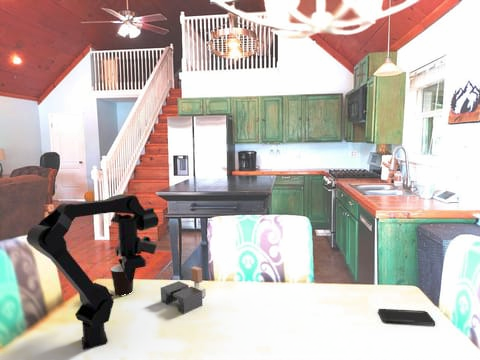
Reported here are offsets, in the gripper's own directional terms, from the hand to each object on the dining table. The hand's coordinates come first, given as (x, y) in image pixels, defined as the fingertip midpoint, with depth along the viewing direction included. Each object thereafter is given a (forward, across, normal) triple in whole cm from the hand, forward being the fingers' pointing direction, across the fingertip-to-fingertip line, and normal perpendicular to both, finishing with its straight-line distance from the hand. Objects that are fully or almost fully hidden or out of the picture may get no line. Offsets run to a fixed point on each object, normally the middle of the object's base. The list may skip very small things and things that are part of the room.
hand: (130, 282), depth 106 cm
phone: (+14, -44, -75) cm, 88 cm away
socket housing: (+13, +4, -17) cm, 22 cm away
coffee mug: (+13, +26, -2) cm, 29 cm away
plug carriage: (+13, +5, -22) cm, 26 cm away
